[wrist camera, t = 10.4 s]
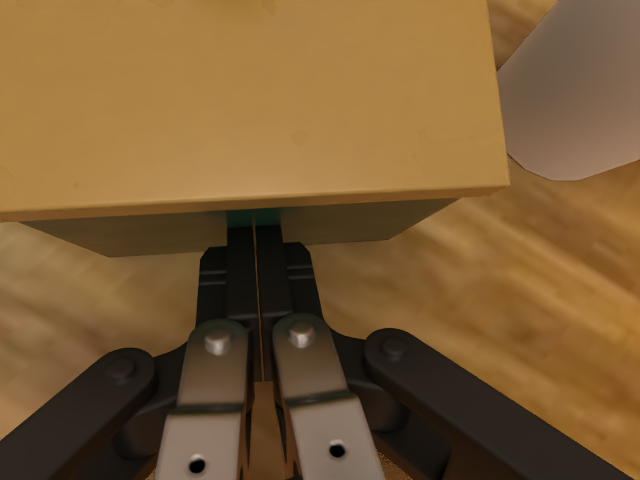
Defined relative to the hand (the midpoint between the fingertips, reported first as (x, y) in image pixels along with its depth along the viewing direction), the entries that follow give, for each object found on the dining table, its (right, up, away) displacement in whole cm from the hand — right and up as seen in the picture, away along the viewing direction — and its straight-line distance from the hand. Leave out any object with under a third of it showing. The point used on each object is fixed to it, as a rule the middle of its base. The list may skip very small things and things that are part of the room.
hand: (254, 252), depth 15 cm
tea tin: (-1, +5, +5) cm, 7 cm away
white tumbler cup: (+11, +5, +6) cm, 14 cm away
